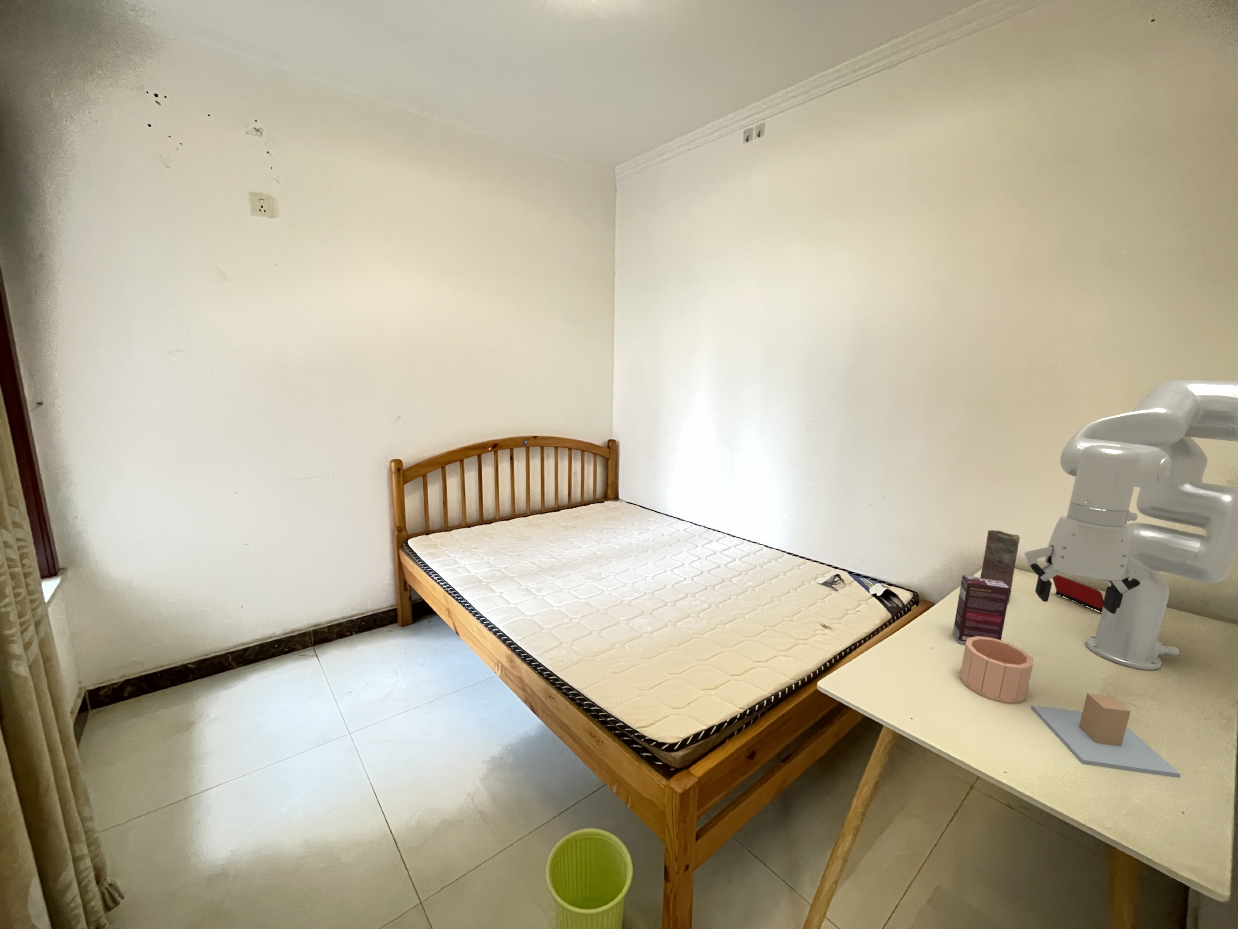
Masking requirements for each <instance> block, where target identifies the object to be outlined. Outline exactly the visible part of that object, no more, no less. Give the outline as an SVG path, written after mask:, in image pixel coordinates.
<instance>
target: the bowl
mask: <svg viewBox="0 0 1238 929" xmlns="http://www.w3.org/2000/svg"><path fill="white" fill-rule="evenodd" d="M964 646H965V647H964V650H963V656H962V661H961V667H960V672H959V678H960V680H961V682H962V684H963V685H964V686H966V687H967V688H968V689H969V690H971V691H972V692H975V694H977V695H979V696H982V697H983V698H985V699H989V700H991V701H995V702H998V703H1002V704H1010V705H1011V704H1020V703H1023V702H1024V701H1025V700H1026V698H1027V694H1028V689H1029V686H1030V680H1031V676H1032V672H1033V671H1032V670H1033V666H1034V658H1033V657H1032V656H1031V655H1030V654H1029V653H1028V652H1027V651H1025V650H1024V649H1022V648H1020V647H1019V646H1017V645H1014V644H1012V643H1009V642H1007V641H1003V640H1002V639H1001V640H998V639H994V638H989V637H980V636H976V637H971V638H968V639H967V641H966V645H965V644H964Z"/></svg>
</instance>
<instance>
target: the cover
mask: <svg viewBox="0 0 1238 929" xmlns="http://www.w3.org/2000/svg"><path fill="white" fill-rule="evenodd" d="M1083 704H1084V705H1083V708H1082V710H1073V709H1067V708H1059V707H1058V708H1057V707H1050V706H1042V705H1036V704H1031V706H1030V709H1031V711H1033V712H1034V713H1035V715H1036V716H1037V717H1038V718H1039V719H1040V720H1041V721H1042V722H1043V723H1044V724H1045V726H1046V727H1048V729H1049V730H1050V731H1051V732H1052V733H1053V734H1054V735H1055V736H1056V737H1057V739H1059V741H1061V743H1062V744H1063V745H1064V746H1065V747H1066V749H1067V750H1068V751H1070V753H1072V755H1073V756H1074V757H1075V758H1076V759H1077V760H1078V761H1079V762H1080V764H1082V765H1089V766H1095V767H1096V766H1097V767H1103V768H1108V769H1109V768H1110V769H1116V770H1124V771H1130V772H1137V773H1143V774H1151V775H1157V776H1164V777H1171V778H1178V779H1179V778H1181V773H1180V772H1179V771H1178V770H1177V769H1176V768H1175V767H1173V766H1172V765H1171V764H1170V763H1169V762H1168V761H1167V760H1166V759H1164V758H1163V757H1162V756H1161V755H1160V754H1159V753H1157V752H1156V750H1154V749H1153V748H1152V747H1150V745H1148V744H1147V743H1146V742H1145V741H1144V740H1142V739H1141V738H1140V737H1139V736H1138V735H1137V734H1136V733H1135V732H1133V731H1132V730H1131V729H1130V728H1129V727H1128V722H1129V719H1130V715H1131V712H1132V711H1131V710H1130V709H1129V708H1128V707H1126V706H1125V705H1124V704H1122V702H1120V701H1119V700H1118V699H1116V698H1115V697H1114V696H1113V695H1105V694H1098V693H1097V694H1095V693H1090V692H1087V693H1086V697H1085V700H1084V703H1083Z"/></svg>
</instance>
